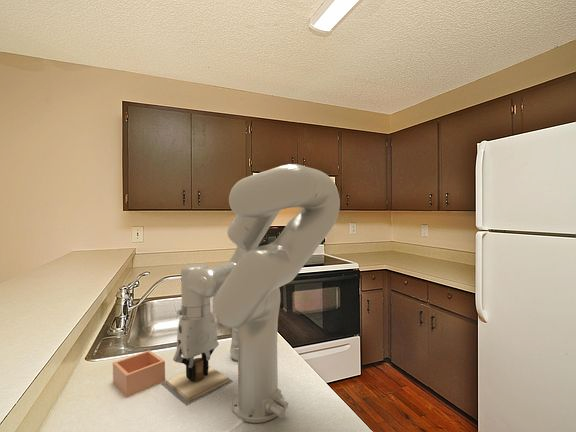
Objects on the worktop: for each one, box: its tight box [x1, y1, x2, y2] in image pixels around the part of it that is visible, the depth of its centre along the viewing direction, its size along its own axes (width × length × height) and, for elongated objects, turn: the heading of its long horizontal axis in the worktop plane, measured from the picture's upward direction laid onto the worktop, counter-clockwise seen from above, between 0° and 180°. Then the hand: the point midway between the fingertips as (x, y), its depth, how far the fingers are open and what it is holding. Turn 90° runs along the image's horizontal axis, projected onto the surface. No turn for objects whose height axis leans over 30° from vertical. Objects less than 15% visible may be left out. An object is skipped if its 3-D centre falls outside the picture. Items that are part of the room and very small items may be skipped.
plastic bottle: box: [229, 328, 239, 362], centre depth 97 cm, size 6×7×20 cm
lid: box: [165, 357, 230, 401], centre depth 83 cm, size 12×12×6 cm
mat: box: [160, 378, 234, 406], centre depth 83 cm, size 14×14×1 cm
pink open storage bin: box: [112, 350, 166, 398], centre depth 84 cm, size 10×10×6 cm
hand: (197, 376), depth 83 cm, fingers closed on lid, 3 cm apart
